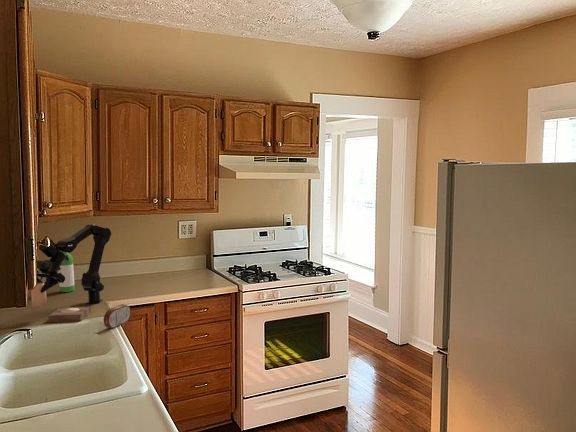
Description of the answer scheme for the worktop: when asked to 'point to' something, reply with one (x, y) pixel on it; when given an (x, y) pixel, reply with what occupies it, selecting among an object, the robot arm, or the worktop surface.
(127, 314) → the tin
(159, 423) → the worktop surface
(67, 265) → the wine bottle
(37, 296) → the column
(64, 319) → the base
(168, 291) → the worktop surface
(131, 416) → the worktop surface
